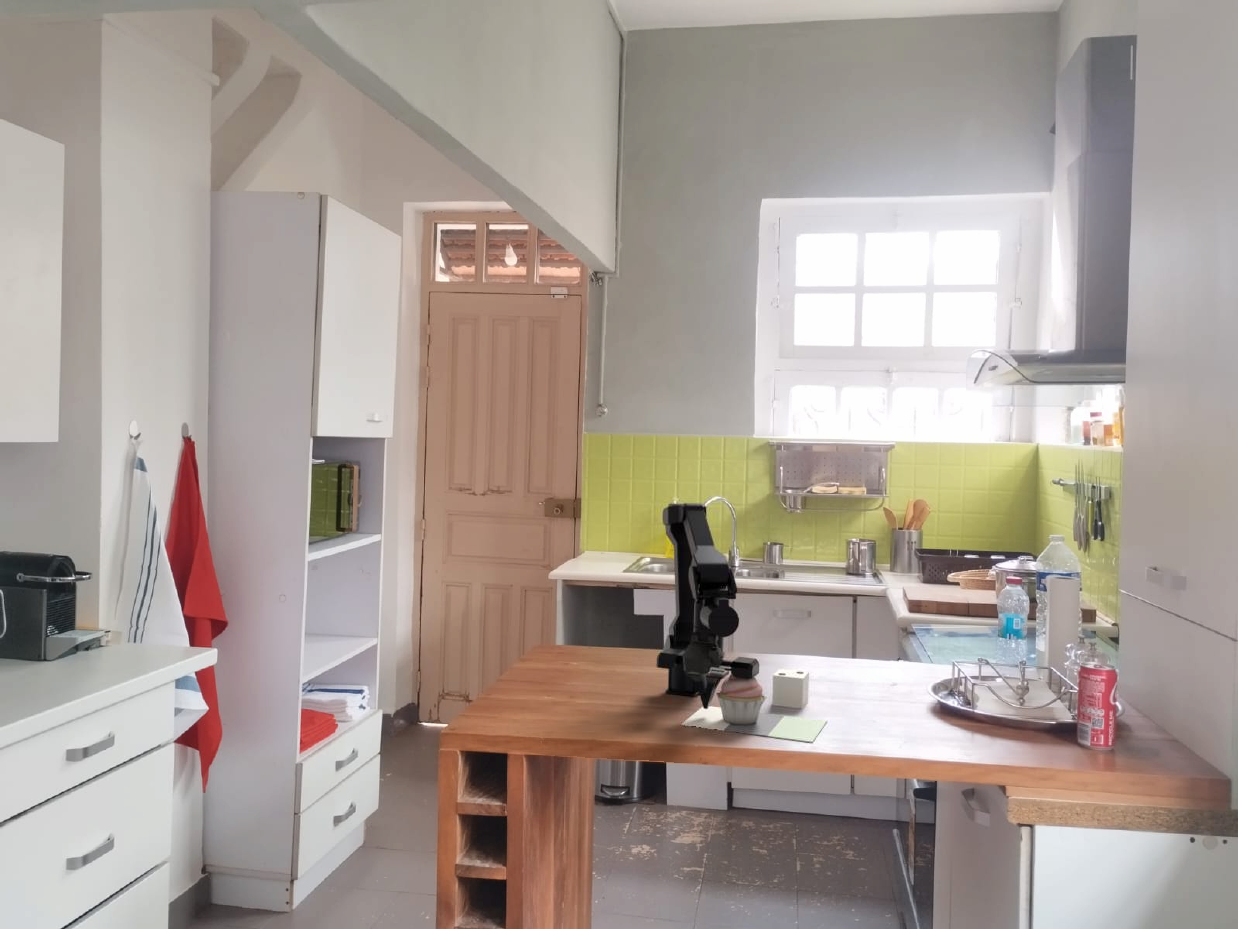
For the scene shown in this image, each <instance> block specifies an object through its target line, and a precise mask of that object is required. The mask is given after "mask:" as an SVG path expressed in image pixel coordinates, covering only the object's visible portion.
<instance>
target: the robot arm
mask: <svg viewBox="0 0 1238 929" xmlns="http://www.w3.org/2000/svg"><path fill="white" fill-rule="evenodd" d="M667 505H668V506H666V507H665V508H663V510H662V517H661V518H662V524H663V526H664V527H665V534H666V536H667V538H668V540H669V541H670V542H671V544H672V546H673V562H674V590H675V591H674V592H675V595H674V596H675V597H674V598H675V616H674V618H673V619H672V621H671V623H670V625H669V627H668V634H667V636H666V639H665V642H664V645H663V649H662V651H661V652H659V653H658V654H657V657H656V668H658V669H665V670H666V669H667V670H668V673H667V675H668V679H667V682H668V684H667V688H666V689H665V691H664V692H665V693H666V694H673V695H682V696H688V697H696V696H698V694H699V697H700V698H699V699H700V700H701V701H700V702H701V704H702V707H703V708H704V709H708V708H709V706H710V704H711V702H712V700H713V697H714V695H715V692H716V691H717V688H718V686H719V684H720V682H721V681H722V680H723V679H725V677H727V676H728V675H729V674H730V675H731V674H732V675H733V676H734V677H735V678H743V679H753V678H756V676H757V675H758V674H760V662H759V660H758V659H757V658H754V657H745V656H737V657H736V658H735V659H734V660H729V659H728V660H727V659H724V658H725V651H724V644H725V642H724V638H728V637H730V636H732V635H733V634H734V633H736V632H737V630H738V628H739V624H740V617H739V615H738V613H737V611H736V610H735V609H734V608H733V607H732V606H730V600H736V599H737V595H736V594H737V592H738V587H737V582H736V579H735V578H736V577H735V574H734V571H732V567H731V565H729V562H728V561H727V558H726V556H725V554H723V553H722V552H721V551H719V550H718V549H717V548H716V546H715V541H714V539H713V537H712V536H713V535H712V531H711V530H710V526H709V521H708V519H707V506H706V504H702V503H701V502H698V503H695V502H690V503H689V502H684V503H668V504H667ZM726 589H727V590H726Z"/></svg>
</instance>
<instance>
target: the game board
mask: <svg viewBox="0 0 1238 929" xmlns="http://www.w3.org/2000/svg"><path fill="white" fill-rule="evenodd" d="M827 722H828V721H827V720H822V719H815V718H814V719H813V718H805V717H799V716H790V715H782V714H773V713H767V712H761V711H760V712H759V716H758V719H757V721H756V723H753V724H748V725H737V724H732V723H728V722H726V721H725V720H724V719H723V716H722V711H721V706H712V705H711V706H710V705H709V708H708V709H704V708H703V706H702V707H701V708H699V709H698V710H697V711H695V713H693V714H692V715H691V716H689V717H688V718H686V720H685V721H684V722H682V723H681V726H684V725H685V726H686V727H691V726H696V727H695V728H699V727H701V728H700V729H706V728H707V730H714V729H717V730H716V731H721V730H722V732H723V731H724V732H731V733H736V732H739V733H738V734H743V733H746V734H745V735H750V734H751V736H752V735H753V736H758V737H766V738H775V739H782V740H786V741H787V740H789V741H797V742H802V743H804V742H805V743H811V744H813V743H814V742H813V741H815V740H816V738H817V737H818V735H819V734H820V733H821V731H822V730H823V728H824V727H825V725H826V724H827ZM685 726H684V727H685ZM821 729H822V730H821ZM819 732H820V733H819Z"/></svg>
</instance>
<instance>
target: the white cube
mask: <svg viewBox="0 0 1238 929" xmlns="http://www.w3.org/2000/svg"><path fill="white" fill-rule="evenodd" d="M809 685H810V671H803V670H792V669H783V668H779V669H778V670H776V672H775V673H774V674H772V696H771V697H772V700H771V701H772V702H771V704H772V706H775V707H776V706H777V707H783V708H793V709H799V708H803V709H804V708H805V707H806V705H807V704H808V702H809V691H810V690H809V687H810V686H809ZM806 703H807V704H806Z"/></svg>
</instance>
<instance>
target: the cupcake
mask: <svg viewBox="0 0 1238 929" xmlns="http://www.w3.org/2000/svg"><path fill="white" fill-rule="evenodd" d="M720 689H721V690H719V692H716V697H717V699H718V702H719V705H720V706H719V707H720V708H721V711H722V716H723V719H724V720H725V721H726V722H728V723H732V724H737V725H748V724H753V723H756V721H757V719H758V716H759V712H760V713H761V710H762V705H763V704H764V703H765V700H766V698H767V696H765V695H764V694H765V693H763V692H764V690H763V687H762V685H761V684H760V683H759V682H758V680H757V679H756V677H754V678H753V679H743V678H735V677H734V676H733V675H732V674H731V673H730V675H729V676H728V678H726V679H725V680H724V681H723V682H722V684H721V687H720Z"/></svg>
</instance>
